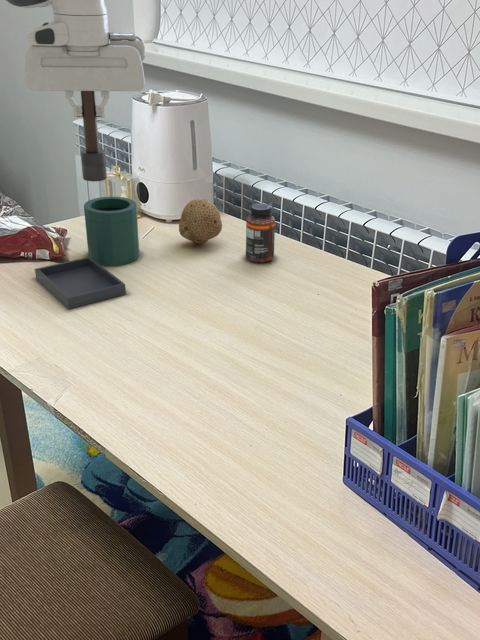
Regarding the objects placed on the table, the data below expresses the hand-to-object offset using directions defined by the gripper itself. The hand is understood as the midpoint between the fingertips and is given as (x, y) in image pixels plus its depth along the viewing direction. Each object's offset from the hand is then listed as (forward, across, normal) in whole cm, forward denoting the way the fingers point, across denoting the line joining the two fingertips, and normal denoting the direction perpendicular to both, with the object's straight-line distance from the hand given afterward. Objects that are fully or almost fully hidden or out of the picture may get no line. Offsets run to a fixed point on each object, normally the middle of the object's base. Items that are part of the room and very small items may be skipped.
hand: (89, 116), depth 124 cm
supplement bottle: (+29, -32, -1) cm, 44 cm away
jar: (+29, -2, -5) cm, 30 cm away
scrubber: (+11, 0, 0) cm, 11 cm away
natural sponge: (+29, -21, -10) cm, 37 cm away
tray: (+29, +4, +9) cm, 31 cm away
